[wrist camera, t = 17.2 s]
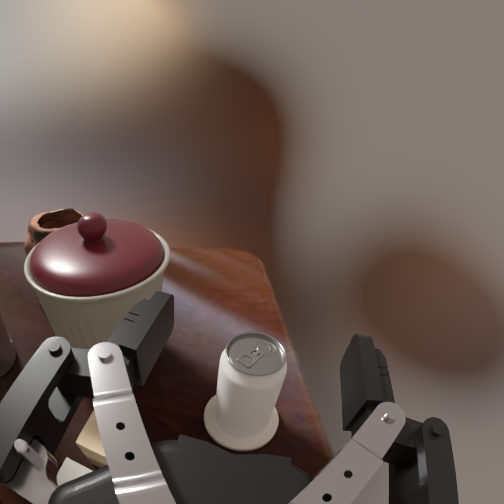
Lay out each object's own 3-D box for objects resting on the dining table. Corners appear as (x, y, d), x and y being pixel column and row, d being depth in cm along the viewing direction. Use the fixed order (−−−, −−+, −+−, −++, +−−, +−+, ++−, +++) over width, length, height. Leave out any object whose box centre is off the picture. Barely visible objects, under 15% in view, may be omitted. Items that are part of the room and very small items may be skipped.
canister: (49, 400, 28) (-11, 257, 19) (65, 313, 43) (43, 193, 33) (181, 397, 34) (178, 251, 25) (166, 310, 49) (166, 189, 40)
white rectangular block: (111, 531, 16) (93, 522, 13) (69, 510, 17) (46, 494, 14) (126, 496, 21) (112, 479, 18) (85, 477, 21) (66, 457, 18)
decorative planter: (126, 277, 56) (122, 210, 49) (101, 315, 45) (89, 240, 39) (49, 262, 55) (40, 202, 49) (18, 292, 44) (2, 226, 38)
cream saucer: (235, 464, 27) (236, 461, 26) (189, 411, 33) (189, 407, 32) (291, 425, 33) (293, 421, 32) (245, 382, 38) (246, 378, 38)
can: (279, 418, 32) (304, 354, 27) (242, 449, 28) (258, 391, 22) (240, 388, 36) (254, 320, 31) (203, 414, 32) (206, 347, 26)
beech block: (132, 481, 22) (120, 463, 20) (92, 464, 23) (75, 442, 20) (147, 447, 27) (138, 423, 24) (108, 432, 27) (96, 406, 24)
